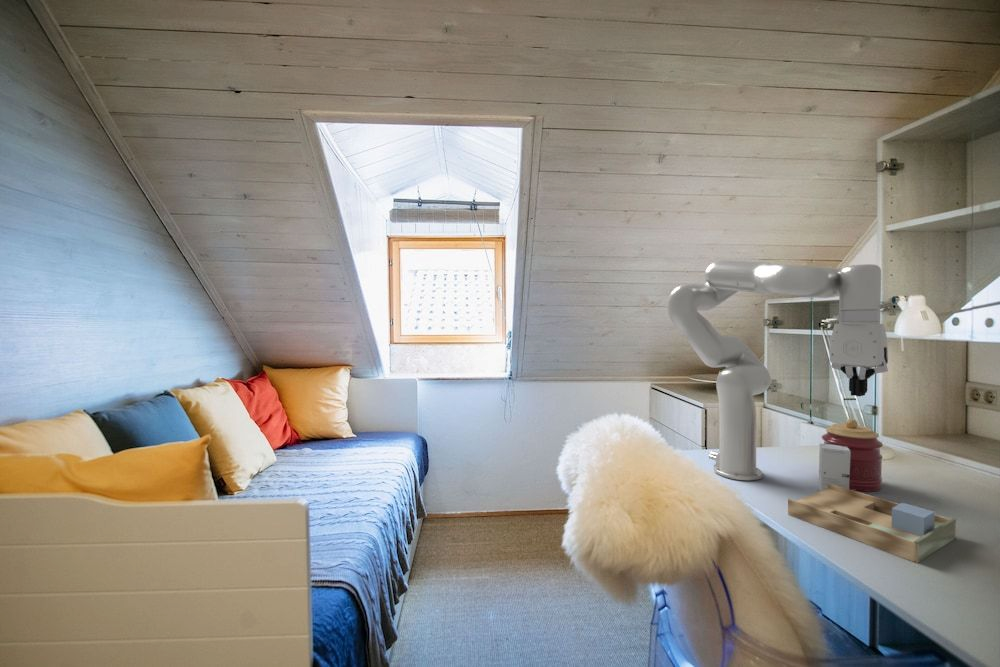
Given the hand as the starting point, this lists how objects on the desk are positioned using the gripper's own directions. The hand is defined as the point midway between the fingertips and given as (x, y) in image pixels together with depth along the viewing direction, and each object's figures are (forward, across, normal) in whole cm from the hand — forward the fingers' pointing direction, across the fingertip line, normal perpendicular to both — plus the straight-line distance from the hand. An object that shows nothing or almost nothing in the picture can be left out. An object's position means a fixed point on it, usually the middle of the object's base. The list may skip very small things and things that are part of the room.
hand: (857, 395), depth 104 cm
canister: (+27, -8, +16) cm, 33 cm away
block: (+25, +13, -8) cm, 29 cm away
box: (+27, +6, -8) cm, 29 cm away
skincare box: (+27, -7, +5) cm, 29 cm away
